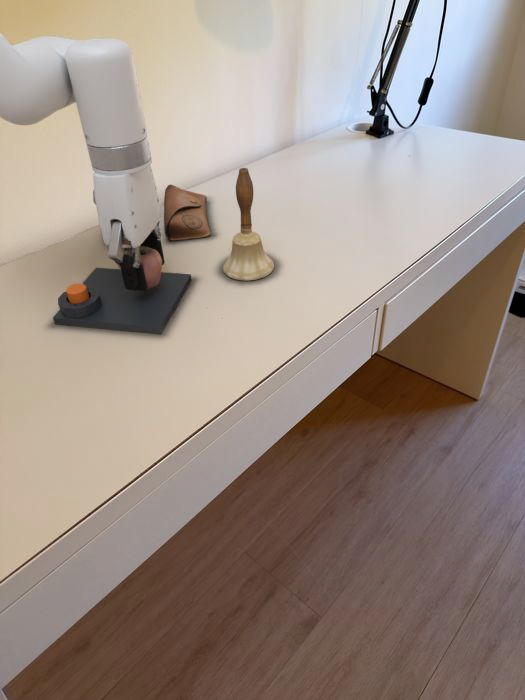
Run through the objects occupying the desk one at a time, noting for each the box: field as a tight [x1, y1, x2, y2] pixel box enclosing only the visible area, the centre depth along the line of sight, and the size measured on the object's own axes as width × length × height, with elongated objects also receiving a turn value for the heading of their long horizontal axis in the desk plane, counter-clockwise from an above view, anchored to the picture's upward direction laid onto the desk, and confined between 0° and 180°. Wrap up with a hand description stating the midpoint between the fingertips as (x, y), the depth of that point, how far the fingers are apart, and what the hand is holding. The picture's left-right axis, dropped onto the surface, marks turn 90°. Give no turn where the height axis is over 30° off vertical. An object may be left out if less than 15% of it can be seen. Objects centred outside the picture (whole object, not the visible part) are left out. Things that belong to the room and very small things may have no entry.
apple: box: [119, 246, 163, 289], centre depth 76 cm, size 6×8×6 cm
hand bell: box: [222, 167, 275, 282], centre depth 80 cm, size 8×8×16 cm
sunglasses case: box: [163, 184, 212, 242], centre depth 99 cm, size 18×7×7 cm
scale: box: [52, 267, 193, 335], centre depth 78 cm, size 16×14×3 cm
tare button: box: [65, 282, 89, 304], centre depth 74 cm, size 3×3×2 cm
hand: (145, 275), depth 77 cm, fingers closed on apple, 6 cm apart
